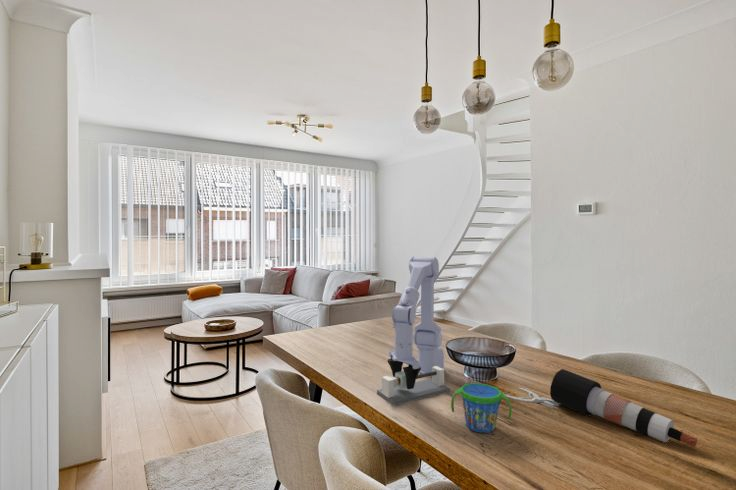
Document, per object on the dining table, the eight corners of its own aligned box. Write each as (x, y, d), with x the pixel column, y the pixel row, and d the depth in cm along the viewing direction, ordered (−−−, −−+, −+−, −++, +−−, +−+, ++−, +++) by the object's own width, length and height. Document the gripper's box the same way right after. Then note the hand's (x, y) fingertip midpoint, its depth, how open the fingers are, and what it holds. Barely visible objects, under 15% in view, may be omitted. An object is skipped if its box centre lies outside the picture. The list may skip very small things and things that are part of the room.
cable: (688, 472, 94) (687, 442, 90) (552, 407, 121) (547, 383, 118) (703, 442, 99) (702, 413, 95) (569, 386, 126) (565, 362, 122)
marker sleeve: (405, 382, 131) (405, 370, 131) (412, 386, 128) (412, 374, 127) (395, 384, 129) (395, 372, 129) (402, 389, 126) (402, 376, 125)
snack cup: (512, 423, 109) (512, 387, 109) (510, 442, 99) (511, 402, 99) (454, 414, 114) (454, 379, 114) (447, 431, 105) (448, 392, 104)
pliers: (519, 384, 134) (564, 399, 122) (519, 389, 134) (564, 404, 122) (502, 391, 128) (547, 407, 116) (502, 396, 128) (547, 413, 116)
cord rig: (431, 381, 140) (431, 363, 140) (449, 391, 131) (450, 372, 131) (377, 393, 129) (377, 373, 129) (393, 405, 121) (393, 384, 120)
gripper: (381, 339, 132) (381, 379, 133) (406, 350, 120) (406, 394, 120) (399, 336, 136) (399, 375, 136) (425, 346, 123) (424, 390, 123)
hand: (403, 384), depth 128 cm, fingers open, 7 cm apart
